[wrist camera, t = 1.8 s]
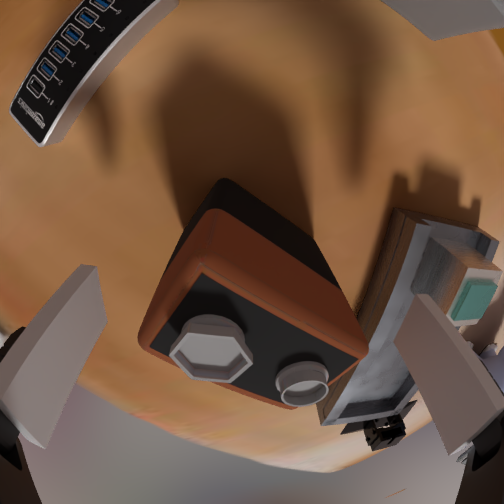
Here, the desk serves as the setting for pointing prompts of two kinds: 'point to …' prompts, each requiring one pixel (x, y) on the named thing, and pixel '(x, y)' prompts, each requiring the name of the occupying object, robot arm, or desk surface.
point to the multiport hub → (80, 63)
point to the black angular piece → (382, 429)
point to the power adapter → (450, 15)
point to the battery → (252, 305)
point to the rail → (399, 301)
